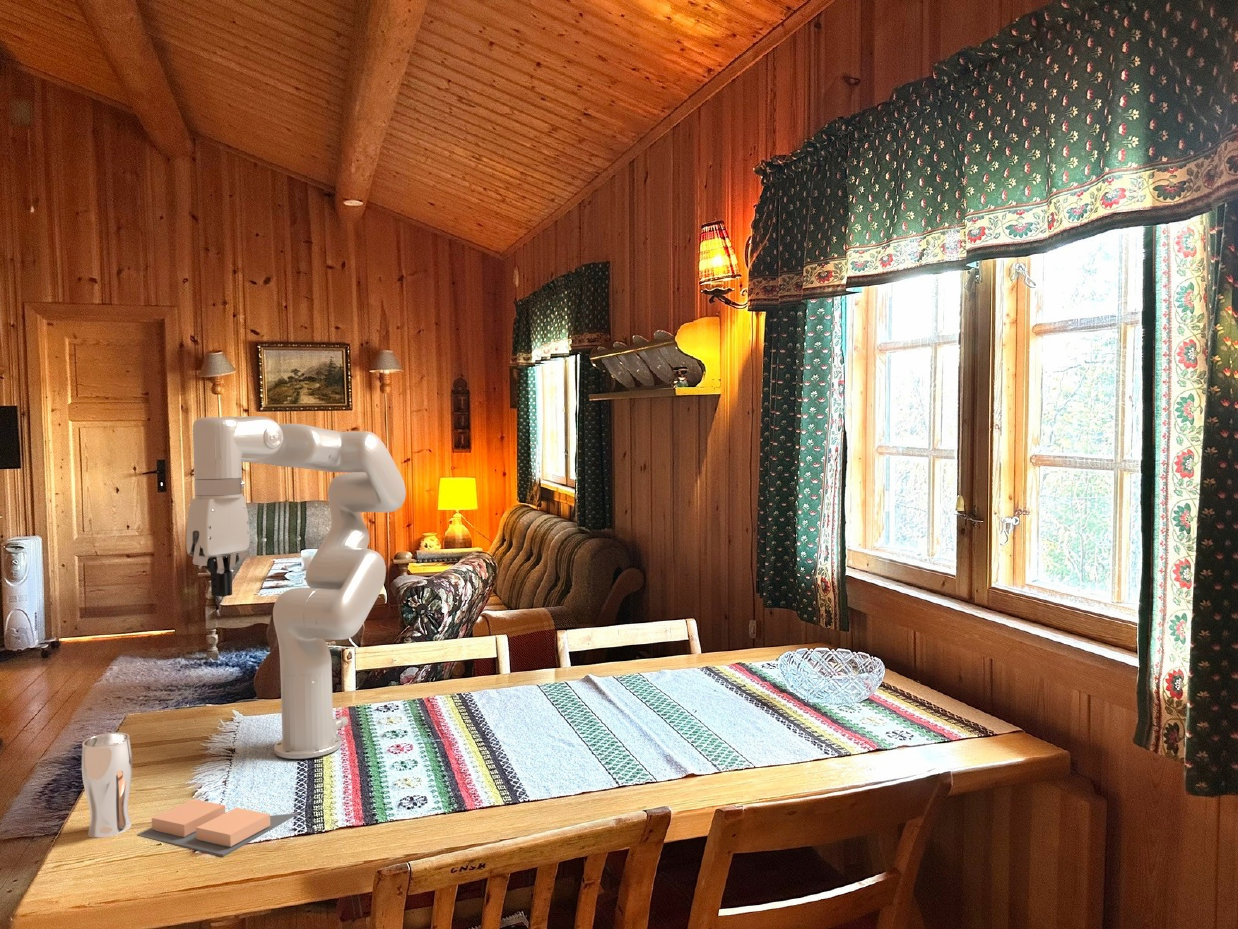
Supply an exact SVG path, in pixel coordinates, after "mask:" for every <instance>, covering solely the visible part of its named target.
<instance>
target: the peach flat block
mask: <svg viewBox="0 0 1238 929" xmlns="http://www.w3.org/2000/svg"><path fill="white" fill-rule="evenodd" d="M270 816H271V814H269V813H265V812H261V811H256V810H250V809H245V808H241V807H234V808H233V809H231V810H229V811H227V812H225V814H223V815H221V816H219V817H216V818H214V819H212V820H210V821H208V822H206V823H204V824H202V825H200V826H198V827H196V839H198V840H200V841H204V842H209V843H213V844H218V845H222V846H227V847H233V846H235V845H236V844H238V843H240V842H242V841H244V840H246V839H248V838H249V837H251V836H253V835H255V834H257V833H259V832H261V831H262V830H264V829H266V828H268V826H270Z"/></svg>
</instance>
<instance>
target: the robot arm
mask: <svg viewBox="0 0 1238 929" xmlns="http://www.w3.org/2000/svg"><path fill="white" fill-rule="evenodd" d="M192 447H193V448H192V449H193V478H194V479H193V480H194V482H193V484H194V497H193V498H191V499H190V502H189V507H188V511H187V517H186V518H187V519H186V520H187V521H186V537H185V538H186V541H185V544H186V545H185V546H186V552H187V553H186V554H187V555H189V556H190V557H193V558H192V564H193V565H196V566H203V567H204V568H205V569H206V572H207V574H210V590H211V591H210V593H211V596H213V597H222V598H223V597H227V596H232V595H233V572H235V569H236V565H237V564H238V562H239V561H241V560H242V559H244V558H247V555H248V551H247V550H248V549H249V548H250V540H251V536H250V535H251V534H250V533H251V531H250V520H249V513H248V507H247V502H246V498H245V495H243V489H244V488H245V482H244V481H243V478H242V477H243V475H242V474H243V473H242V472H243V471H242V470H243V469H242V462H243V463H254V464H261V465H263V464H264V465H268V466H269V465H270V466H275V467H283V468H295V469H296V468H298V469H304V470H312V471H313V470H314V471H320V472H325V473H326V472H328V473H340V474H338V475H336V476H335V477H333V478H332V479H331V481H330V483H329V484H328V487H327V488H328V489H327V501H328V507H329V512H330V518H331V520H330V521H331V524H330V529H329V531H328V532H327V535H326V536H325V538H324V539H323V541H322V543H320V546H319V547H318V549H317V550H316V552H315V554H314V555H313V556H312V559H311V560H310V562H309V564H308V566H307V569H306V571H305V582H306V585H307V586H308V587H296V588H290V589H288V590H286V591H284V592H282V593H281V594H280V595H279V596H278V597H277V599H276V600H275V602H274V604H273V605H274V606H273V608H272V619H273V624H274V630H275V634H276V637H277V643H278V648H279V649H278V650H279V664H280V666H279V667H280V674H279V675H280V700H281V701H280V703H281V734H282V735H281V736H282V739H281V740H279V741H277V742H276V743H275V744H274V746H273V752H274V754H275V755H276V756H278V757H280V758H284V759H293V760H302V759H303V760H304V759H311V758H317V757H322V756H325V755H328V754H331V753H333V752H335V751H337V750H339V749H340V748H341V747H342V744H343V743H342V742H343V740H342V737H341V736H340V735H338V734H337V732H338V731H339V729H341V728H344V727H346V726H348V724H349V719H348V717H347V716H344V715H343V716H341V717H339V718H337V719H335V718H334V715H333V714H334V711H333V710H334V709H333V705H334V704H333V678H332V677H333V674H332V673H333V671H332V670H333V669H332V668H333V666H332V665H333V664H332V655H331V652H330V648H329V647H328V644H327V642H326V640H337V641H339V640H340V641H341V640H342V641H343V640H348V639H350V638H352V637H354V636H355V635H356V634H357V633H358V632H359V631H360V629H361V627H362V626H363V624H364V623H365V621H366V619H367V618H368V616H369V613H370V612H371V610H372V608H373V606H374V605H375V602H376V601H377V599H378V597H379V596H380V593H381V591H382V589H383V588H384V584H385V582H386V573H387V569H386V568H387V567H386V562H385V559H384V557H383V556H382V555H381V554H380V552H377V551H376V550H373V549H372V548H371V549H370V548H368V546H369V544H370V533H369V530H368V528H367V526H366V524H365V522H364V520H363V517H362V514H361V513H392V512H396V511H398V510H399V509H400V508H402V506H403V505H404V502H405V501H406V494H407V491H406V490H407V489H406V484H405V482H404V479H403V477H402V474H401V472H400V471H399V468H398V467H397V465H396V462H395V461H394V458H393V457H392V456H391V454H390V452H389V450H388V448H387V446H386V444H384V442H383V441H382V440H381V438H380V437H379V436H378V435H377V434H375V433H374V432H372V431H368V430H361V431H359V430H356V431H355V430H354V431H353V430H351V431H349V430H348V431H346V430H345V431H343V430H341V431H339V430H332V429H328V428H322V427H316V426H312V425H308V424H303V423H277V421H276V420H274V419H272V418H269V417H267V416H261V415H259V416H257V415H256V416H255V415H254V416H252V415H251V416H247V415H246V416H214V417H213V416H209V417H208V416H207V417H206V416H205V417H199V418H197V419H195V420H194V422H193V424H192Z"/></svg>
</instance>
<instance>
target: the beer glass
mask: <svg viewBox="0 0 1238 929" xmlns="http://www.w3.org/2000/svg"><path fill="white" fill-rule="evenodd" d="M81 746H82V748H81V775H82V783H83V787H84V788H83V789H84V792H85V796H86V800H87V803H88V808H89V818H90V819H89V825H88V832H87V836H88V837H90V838H108V837H114V836H117V835H120V834H122V833H124V832H126V831H128V830H130V828H131V827H132V822H131V817H130V813H129V799H130V791H131V784H132V778H133V777H132V776H133V775H132V774H133V753H132V746H131V739H130V734H128V733H125V732H118V731H117V732H106V733H102V734H97V735H93V736H91V737H88V738H86V739H85V740H84V741H83V742H82V744H81Z"/></svg>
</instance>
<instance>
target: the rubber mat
mask: <svg viewBox="0 0 1238 929" xmlns="http://www.w3.org/2000/svg"><path fill="white" fill-rule="evenodd" d="M299 814H300V812H297V813H296V812H295V813H286V814H277V815H276V814H275V815H274V814H273V815H270V826H268V828H266V829H264V830H262V831H261V832H259V833H257V834H255V835H253V836H251V837H249V838H248V839H246V840H244V841H242V842H240V843H238V844H236V845H235V846H233V847H227V846H222V845H218V844H213V843H209V842H204V841H200V840H198V839H196V832H194V833H192V834H190V835H188V836H186V837H182V836H177V835H173V834H168V833H164V832H159V831H155V830H154V829H152V827H151V828H149V829H147V830H145V831H143V832H140V833H138V834H137V836H138V837H141V838H146V839H150V840H154V841H158V842H163V843H165V844H170V845H174V846H178V847H181V848H182V847H183V848H186V849H189V850H194V851H197V852H202V853H205V854H209V855H212V856H213V855H214V856H217V857H221V858H225V857H226V856H228V855H229V854H232V853H234V852H235V851H236V850H238V849H240V848H242V847H245V845H247V844H249V843H250V842H253V841H254V840H256V839H258V838H259V837H261V836H263V835H264V834H266V833H268V832H270V831H271V830H273V829H275V828H276V827H277V828H278V826H280V825H282V824H284V823H286V822H287V821H289V820H291V819H292V818H294V817H296V816H297V815H299Z"/></svg>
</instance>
